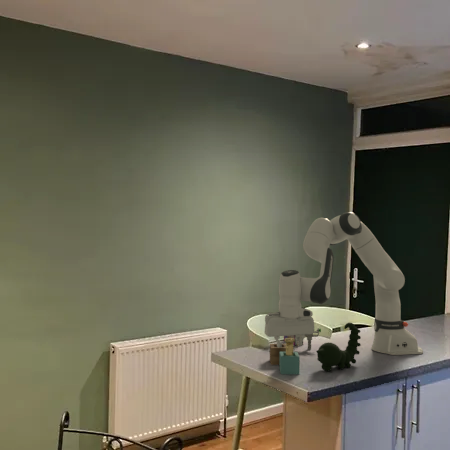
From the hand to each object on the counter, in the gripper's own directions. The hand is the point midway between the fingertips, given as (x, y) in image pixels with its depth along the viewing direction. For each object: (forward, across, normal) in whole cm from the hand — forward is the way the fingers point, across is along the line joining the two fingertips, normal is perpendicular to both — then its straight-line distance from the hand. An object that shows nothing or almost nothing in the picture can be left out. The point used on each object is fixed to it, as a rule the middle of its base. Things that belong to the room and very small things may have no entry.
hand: (289, 346), depth 213 cm
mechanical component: (+10, +23, +30) cm, 39 cm away
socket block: (+10, 0, 0) cm, 10 cm away
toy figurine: (+10, +21, -1) cm, 23 cm away
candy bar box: (+10, +20, +43) cm, 49 cm away
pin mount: (+10, +1, +13) cm, 17 cm away
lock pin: (+10, 0, 0) cm, 10 cm away
